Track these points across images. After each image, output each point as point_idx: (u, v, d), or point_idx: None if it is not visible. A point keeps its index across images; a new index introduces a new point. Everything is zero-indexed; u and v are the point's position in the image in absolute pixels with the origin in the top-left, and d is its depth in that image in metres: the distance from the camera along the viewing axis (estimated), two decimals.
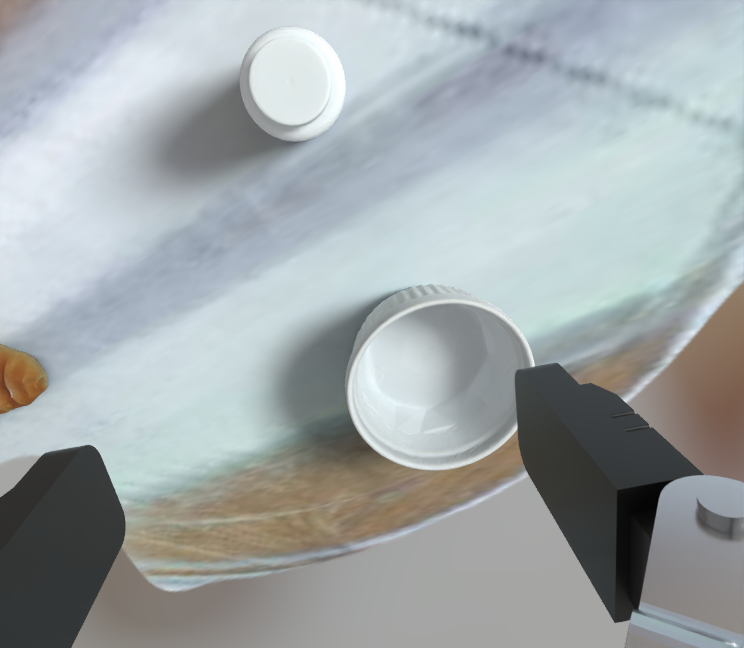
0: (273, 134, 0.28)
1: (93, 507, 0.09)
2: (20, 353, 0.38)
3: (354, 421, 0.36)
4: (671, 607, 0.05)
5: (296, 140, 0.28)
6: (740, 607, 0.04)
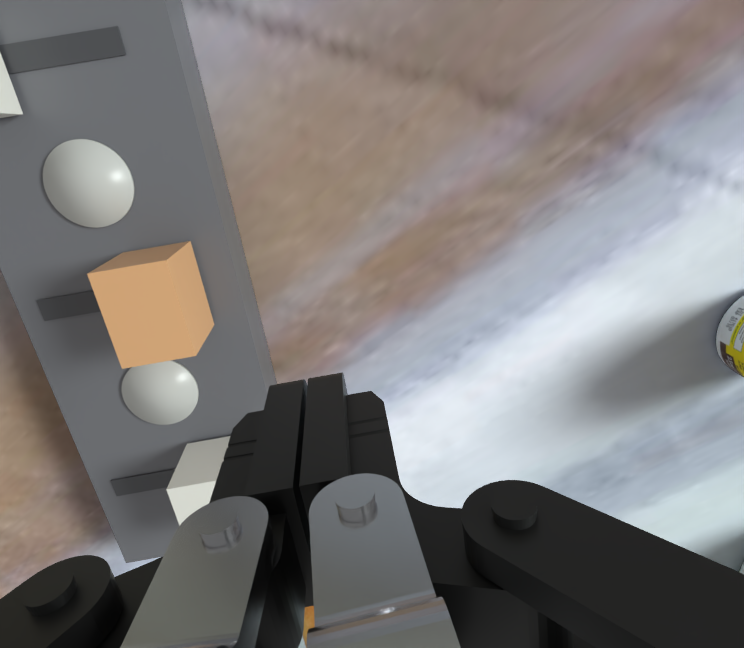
0: None
1: None
2: None
3: None
4: (339, 608, 0.05)
5: None
6: (384, 577, 0.05)
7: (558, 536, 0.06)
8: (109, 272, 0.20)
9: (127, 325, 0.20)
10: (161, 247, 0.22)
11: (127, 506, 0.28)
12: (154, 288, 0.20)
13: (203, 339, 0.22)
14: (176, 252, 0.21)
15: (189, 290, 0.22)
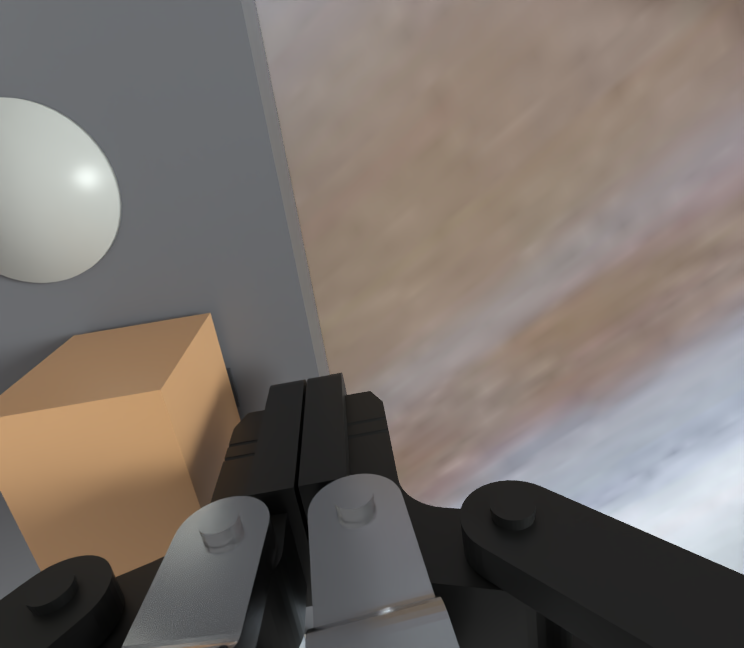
0: None
1: None
2: None
3: None
4: (337, 609, 0.05)
5: None
6: (382, 577, 0.05)
7: (556, 537, 0.06)
8: (22, 417, 0.08)
9: (70, 528, 0.09)
10: (151, 328, 0.11)
11: None
12: (132, 450, 0.08)
13: None
14: (184, 354, 0.09)
15: (210, 428, 0.10)
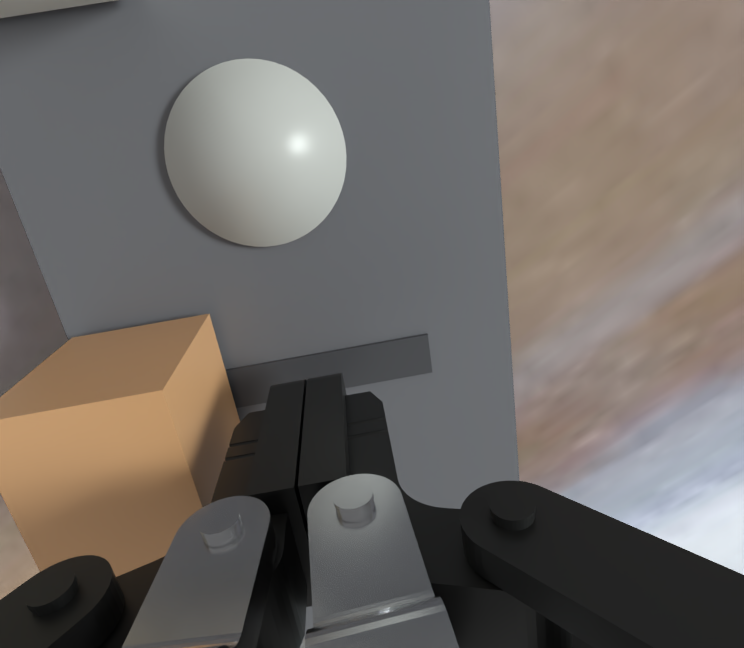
0: None
1: None
2: None
3: None
4: (337, 609, 0.05)
5: None
6: (382, 578, 0.05)
7: (556, 536, 0.06)
8: (23, 419, 0.08)
9: (71, 531, 0.09)
10: (150, 330, 0.11)
11: None
12: (134, 451, 0.08)
13: None
14: (184, 354, 0.09)
15: (211, 429, 0.10)
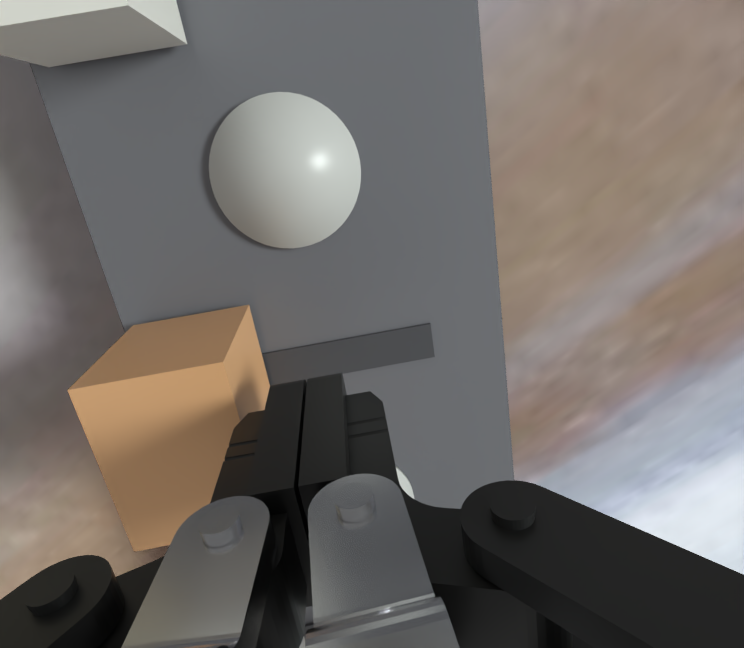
0: None
1: None
2: None
3: None
4: (337, 608, 0.05)
5: None
6: (383, 577, 0.05)
7: (557, 537, 0.06)
8: (111, 385, 0.10)
9: (145, 479, 0.11)
10: (200, 318, 0.13)
11: None
12: (198, 412, 0.10)
13: None
14: (235, 336, 0.11)
15: (254, 399, 0.12)
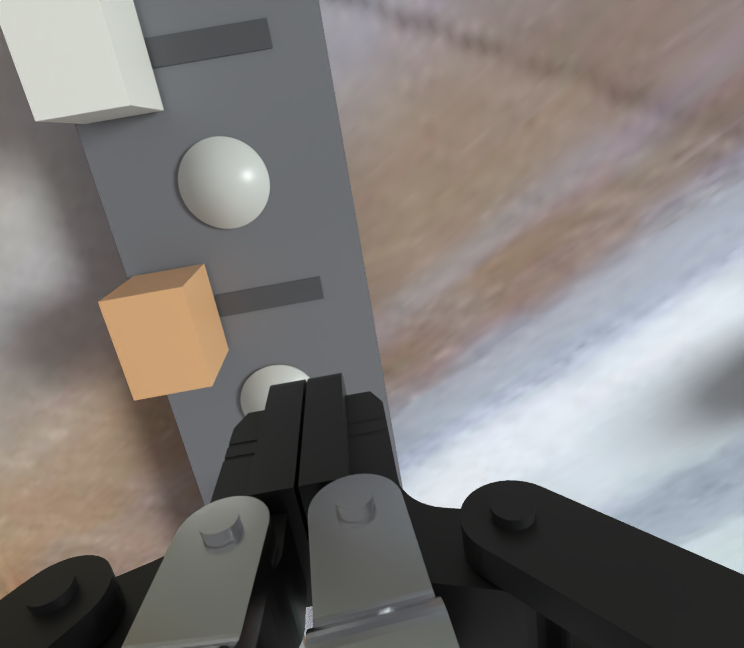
0: None
1: None
2: None
3: None
4: (337, 609, 0.05)
5: None
6: (383, 577, 0.05)
7: (557, 536, 0.06)
8: (121, 300, 0.18)
9: (140, 355, 0.19)
10: (174, 270, 0.21)
11: None
12: (169, 315, 0.19)
13: (218, 367, 0.21)
14: (191, 277, 0.20)
15: (204, 316, 0.20)
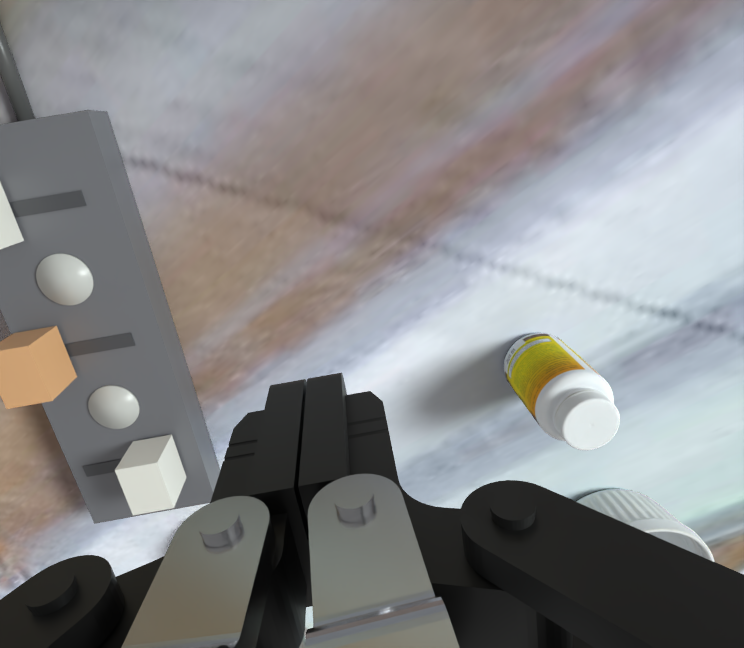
0: (556, 438, 0.37)
1: None
2: None
3: None
4: (337, 608, 0.05)
5: None
6: (383, 577, 0.05)
7: (557, 536, 0.06)
8: None
9: (8, 383, 0.33)
10: (36, 330, 0.36)
11: (94, 484, 0.41)
12: (22, 361, 0.33)
13: (62, 388, 0.35)
14: (40, 337, 0.34)
15: (50, 359, 0.35)
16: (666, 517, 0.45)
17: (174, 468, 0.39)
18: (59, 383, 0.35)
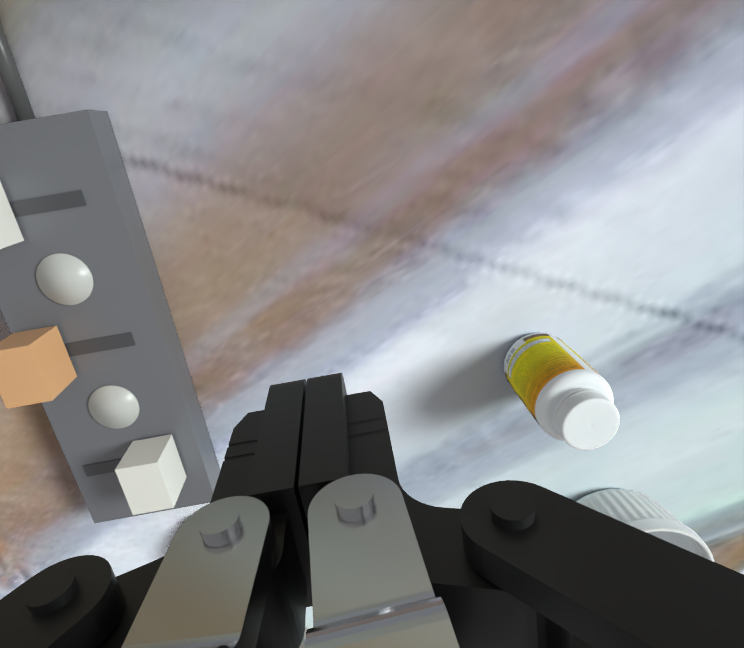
0: (556, 438, 0.37)
1: None
2: None
3: None
4: (337, 609, 0.05)
5: None
6: (383, 577, 0.05)
7: (557, 536, 0.06)
8: None
9: (8, 383, 0.33)
10: (36, 330, 0.36)
11: (94, 483, 0.41)
12: (22, 361, 0.33)
13: (62, 388, 0.35)
14: (40, 337, 0.34)
15: (50, 359, 0.35)
16: (666, 517, 0.45)
17: (173, 468, 0.39)
18: (59, 383, 0.35)
